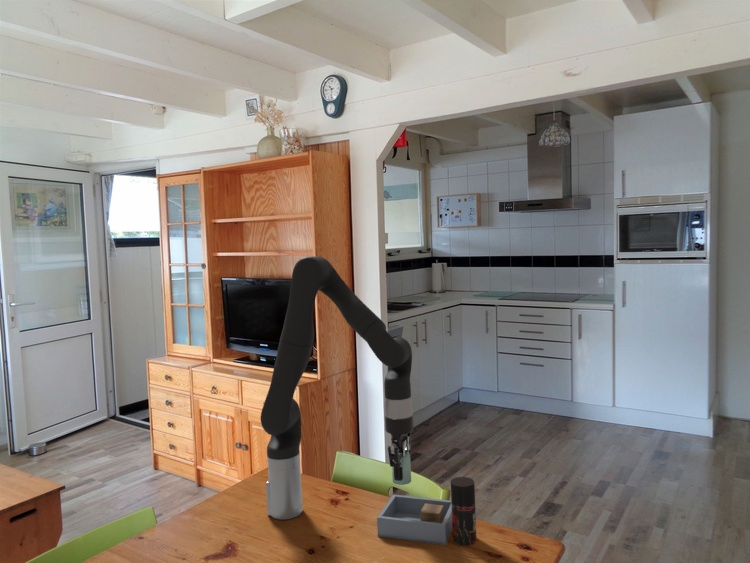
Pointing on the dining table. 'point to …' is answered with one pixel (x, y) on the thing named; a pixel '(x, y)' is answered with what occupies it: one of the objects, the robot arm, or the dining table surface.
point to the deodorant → (463, 511)
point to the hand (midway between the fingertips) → (401, 475)
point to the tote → (413, 520)
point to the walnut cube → (432, 513)
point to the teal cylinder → (404, 471)
